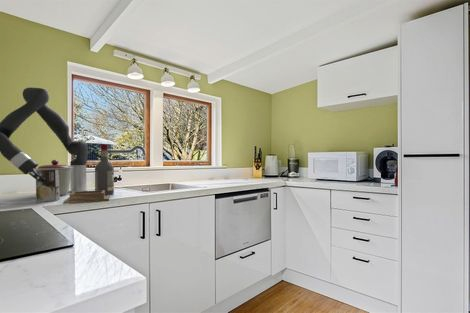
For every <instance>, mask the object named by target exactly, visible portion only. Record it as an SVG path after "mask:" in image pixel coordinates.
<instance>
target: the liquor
mask: <svg viewBox="0 0 470 313" xmlns="http://www.w3.org/2000/svg"><path fill="white" fill-rule="evenodd" d="M108 146H109V145H108V144H105V143H103V144H100V149H101V150H100V151H101V152H100V154H101V155H100V156H101V158H100V161H99V162H98V163H97V164H96V165H95V167H94V191H99V190H105V195H110V196H112V195H114V194H115V184H114V183H115V177H114V176H115V170H114V165H113V164H112V163H111V161H109V157H108V156H109V155H108V150H109V149H108V148H109V147H108Z"/></svg>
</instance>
